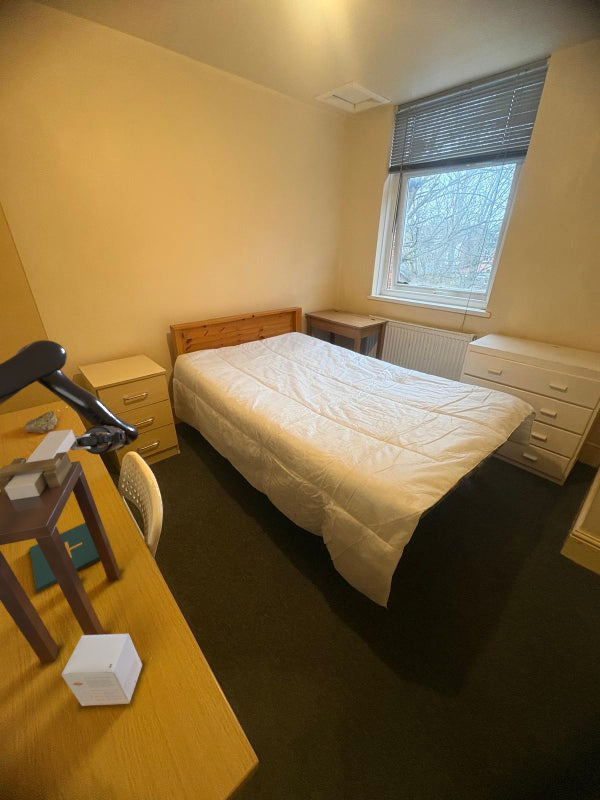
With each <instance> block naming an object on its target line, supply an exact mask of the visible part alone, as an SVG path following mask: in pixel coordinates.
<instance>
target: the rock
mask: <svg viewBox="0 0 600 800" xmlns="http://www.w3.org/2000/svg"><path fill="white" fill-rule="evenodd" d="M57 422H58V418H57V416H56V413H54V411H53V410H49V411H47V412H44V413H43V414H41V415H39V416H38V417H35V418H34V419H31V420H29V421H27V422H26V423H25V425H24V427H23V428H24V430H25V431H26V432H27V433H39V434H46V433H49V432H51V431H53V429H54V428H55V427H56V426H57Z"/></svg>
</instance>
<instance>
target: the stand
mask: <svg viewBox="0 0 600 800" xmlns="http://www.w3.org/2000/svg"><path fill="white" fill-rule="evenodd" d="M26 461H27V459H26V457H19V458H14V459H13V460H12V461H11V462H10V463H9V464H6V465H3V466H2V467H1V468H0V546H5V545H9V544H14V543H19V542H24V541H29V540H35V541H36V543H37V544H38V545H39V547H40V549H41V551H42V553H43V555H44V557H45V559H46V561H47V563H48V565H49V567H50V568H51V570H52V572H53V574H54V576H55V578H56V580H57V582H56V583H57V584H58V587H59V588H60V590H61V592H62V594H63V596H64V598H65V600H66V602H67V604H68V606H69V607H70V610H71V612H72V614H73V616H74V617H75V620H76V621H77V623H78V626H79V627H80V629H81V631H82V633H83V635H104V634H106V633H105V630H104V628H103V626H102V624H101V621H100V619H99V617H98V615H97V613H96V611H95V608H94V606H93V604H92V602H91V599H90V598H89V596H88V593H87V591H86V589H85V586H84V584H83V581H82V580H81V577H80V575H79V573H78V571H76V568H75V566H74V564H73V562H72V560H71V557H70V555H69V553H68V551H67V549H66V547H65V544H64V542H63V540H62V538H61V536H60V534H61V533H60V532H59V528H58V527H57V523H58V522H59V519H60V517H61V515H62V513H63V511H64V509H65V507H66V505H67V502H68V501H69V499H70V497H71V494H72V493H73V495H74V497H75V500H76V502H77V506H78V508H79V510H80V512H81V515H82V518H83V520H84V523H86V525H87V528H88V530H89V533H90V535H91V538H92V540H93V543H94V545H95V548H96V550H97V553H98V555H99V558H100V560H99V561H100V563H101V565H102V568H103V570H104V573H105V576H106V578H107V580H108V582H114V581H117V580H119V579H120V576H121V575H120V574H121V571H120V568H119V564H118V563H117V559H116V556H115V554H114V551H113V548H112V546H111V542H110V540H109V537H108V534H107V532H106V529H105V527H104V524H103V521H102V518H101V515H100V513H99V510H98V507H97V504H96V502H95V499H94V496H93V493H92V491H91V488H90V486H89V483H88V480H87V477H86V475H85V471H84V469H83V466H82V463H81V461H80V460H77V461H71V459H70V457H69V453H68V452H61V453H57V454H56V455H55V457H54V458H53V459H48V460H41V461H34V462H27V463H25V462H26ZM43 471H45V472H44V477H45V479H46V481H47V485H46V486H45V488H44V489H43V491H42V493H41V494H40V496H34V497H28V498H21V499H15V500H10V498H9V496H8V494H7V492H6V490H5V487H6V486H7V484H8V483H9V482H10V481H11V479H12V478H13V477H14V476H16V475H23V474H29V473H36V472H43ZM0 602H1V604H2V606H3V607H4V608H5V610H6V611H7V613H8V614H9V616H10V617H11V619H12V620H13V622H14V623H15V626H17V628H18V629H19V631H20V633H21V634H22V635H23V637H24V639H25V640H26V641H27V643H28V645H29V646H30V648H31V649H32V650H33V652H34V653H35V655H36V657H37V658H38V659H39V661H40V662H41V664H42V665H45V664H48V663H51V662H55V661H56V659H57V656H58V653H59V650H60V648H59V646H58V645H57V643H56V642H55V640H54V638H53V636H52V635H51V633H50V631H49V630H48V628H47V626H46V625H45V623H44V621H43V620H42V618H41V616H40V614H39V613H38V611H37V609H36V608H35V606H34V605H33V602H32V601H31V599H30V597H29V596H28V594H27V593H26V591H25V589H24V588H23V586H22V584H21V583H20V581H19V579H18V578H17V576H16V575H15V573H14V570H13V569H12V567H11V566H10V564H9V562H8V561H7V558H5V556H4V554H3V552H2V551H1V550H0Z"/></svg>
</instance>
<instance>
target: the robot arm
mask: <svg viewBox="0 0 600 800" xmlns="http://www.w3.org/2000/svg"><path fill="white" fill-rule="evenodd" d="M67 360H68V354H67V350H66V349H65V347H64V346H63V345H61V344H60V343H58V342H56V341H53V340H49V339H47V340H46V339H39V340H34V341H32V342H30V343H28V344H26V345H24V346H22V347H21V348H19V349H18V350H17V351H16V353H15V354H14V355H13V356H11V357H10V358H8V359H6V360H5V361H3V362H1V363H0V406H2V405H3V404H5V403H6V402H7V401H9V400H10V399H12V398H13V397H14V396H15V395H17V394H18V393H20V392H21V391H22V390H24V389H25V388H27V387H28V386H31V385H32V384H34V383H36V382H37V383H38V384H40V385H42V386H43V387H44V388H46V389H47V390H48V391H50V392H52V394H54V395H55V396H56V397H58V398H59V399H60V400H61V401H62V402H64V403H65V404H67V406H69V408H71V409H72V410H73V411H74V412H75V413H77V414H78V416H80V418H82V419H83V420H84V421H85V422H86V423H87V424H88V425H89V426H90V427H89V428H88V429H87V430H86V431H84V433H83V434H81V435H74V436H75V439H76V440H75V441H74V443H73V444H72V446H71V447H70V449H69V450H71V451H79V450H84V451H86V452H87V453H90V454H92V455H102V454H107V453H112V454H117V453H119V452H121V451H123V449H125V448H126V447H128V446H129V445H131V444H132V443H135V441H136V440H138V438H139V434H140V433H139V431H138V428H137V427H136V426H135V425H133V424H132V423H130V422H128V421H127V420H125V419H123V418H121V417H120V416H118V415H117V414H115V413H114V412H113V411H112V410H111V409H110V408H109V407H108V406H107V405H106V404H105V403H104V402H103V401H102V400H101V399H100V398H99V397H97V396H96V395H95V394H93V393H92V392H90V391H88V389H85V388H84V387H82V386H80V385H79V384H77V383H76V382H74V381H73V380H72V379H71V378H70V377H68V376H67V374H65V372H64V371H63V370H62V369H63V368H64V367H65V365H66V363H67Z"/></svg>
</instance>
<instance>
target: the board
mask: <svg viewBox="0 0 600 800" xmlns="http://www.w3.org/2000/svg"><path fill="white" fill-rule="evenodd" d="M60 536H61V538H62V540H63V542H64V544H65V547H66V549H67V551H68V553H69V555H70V557H71V560H72V562H73V564H74V566H75V568H76V571H77V572H79V571H81V570H82V569H85V568H87V567H89V566H90V565H93V564H94V563H96V562H98V561H101V560H100V558H99V555H98V553H97V550H96V548H95V545H94V543H93V540H92V538H91V535H90V533H89V530H88V528H87V525H86V523H85V522H83V523H81V524H79V525H77V526H75V527H72V528H70V529H68V530H66V531H63V532H62V533H60ZM29 552H30V559H31V566H32V567H31V568H32V570H33V571H32V572H33V579H34V586H35V590H36V592H37V593H39V592H41V591H43V590H44V589H46V588H49V587H50V586H52V585H54V584H56V583H58V582H57V580H56V578H55V576H54V574H53V572H52V570H51V568H50V567H49V565H48V563H47V561H46V559H45V557H44V555H43V553H42V551H41V549H40V547H39V545H38V543H37V544H35V545H33V546H31V547H29Z"/></svg>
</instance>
